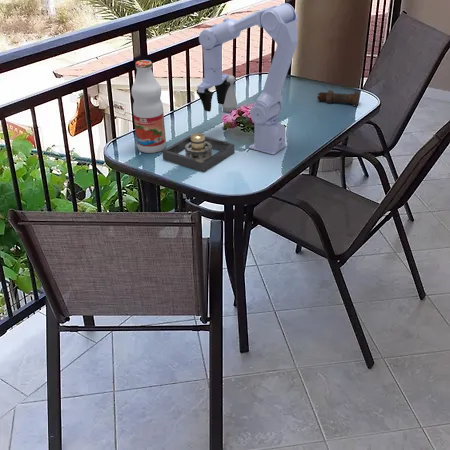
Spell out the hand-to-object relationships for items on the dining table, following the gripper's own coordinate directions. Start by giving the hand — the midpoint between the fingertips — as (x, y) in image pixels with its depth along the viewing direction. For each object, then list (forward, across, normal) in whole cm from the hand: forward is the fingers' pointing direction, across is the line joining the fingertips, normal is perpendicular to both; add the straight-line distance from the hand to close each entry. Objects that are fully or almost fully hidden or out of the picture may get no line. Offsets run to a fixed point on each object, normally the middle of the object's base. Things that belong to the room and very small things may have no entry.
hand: (214, 107), depth 195 cm
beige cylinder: (+9, +17, +6) cm, 20 cm away
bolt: (+10, -48, +22) cm, 54 cm away
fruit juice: (+10, +20, -11) cm, 25 cm away
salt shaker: (+10, -20, -8) cm, 24 cm away
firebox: (+9, +17, +6) cm, 20 cm away
